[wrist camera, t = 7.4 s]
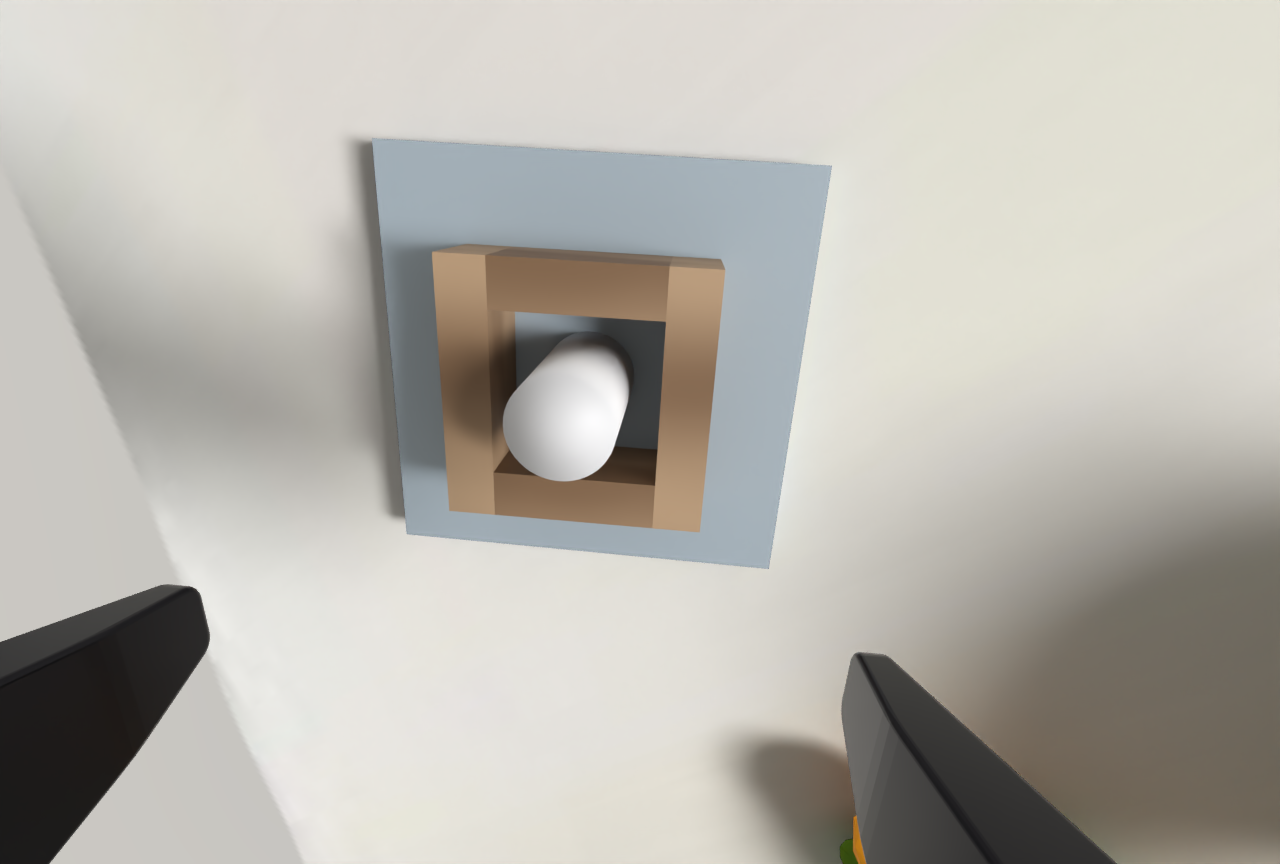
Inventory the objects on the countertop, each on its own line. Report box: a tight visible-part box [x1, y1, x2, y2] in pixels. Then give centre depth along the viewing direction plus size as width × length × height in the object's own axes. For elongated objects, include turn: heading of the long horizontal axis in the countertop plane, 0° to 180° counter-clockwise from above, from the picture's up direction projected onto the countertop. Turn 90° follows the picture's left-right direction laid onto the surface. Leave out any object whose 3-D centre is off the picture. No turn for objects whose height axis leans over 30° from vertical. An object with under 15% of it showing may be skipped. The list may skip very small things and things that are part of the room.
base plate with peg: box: [372, 138, 832, 569], centre depth 17 cm, size 12×12×6 cm
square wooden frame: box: [432, 244, 725, 532], centre depth 17 cm, size 7×7×2 cm
